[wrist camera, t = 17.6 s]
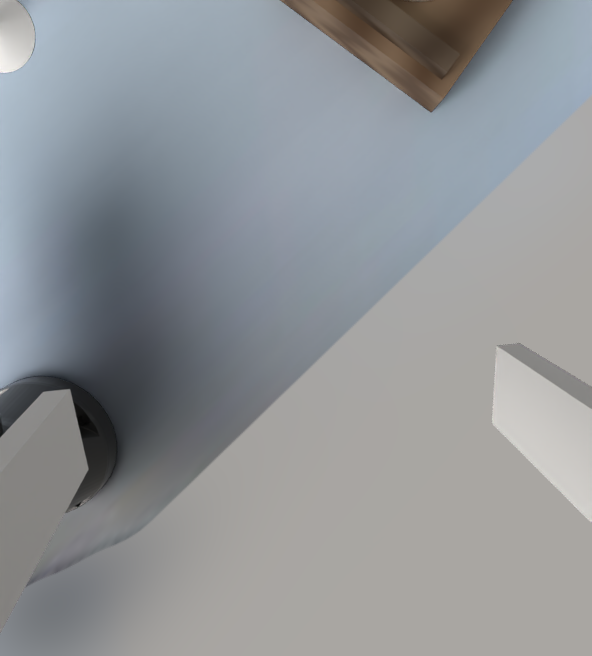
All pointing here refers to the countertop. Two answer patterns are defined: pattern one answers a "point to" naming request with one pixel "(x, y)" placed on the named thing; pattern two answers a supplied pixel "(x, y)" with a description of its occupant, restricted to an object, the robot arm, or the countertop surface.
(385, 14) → the display stand
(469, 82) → the countertop surface
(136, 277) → the countertop surface
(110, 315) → the countertop surface
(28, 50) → the champagne flute
